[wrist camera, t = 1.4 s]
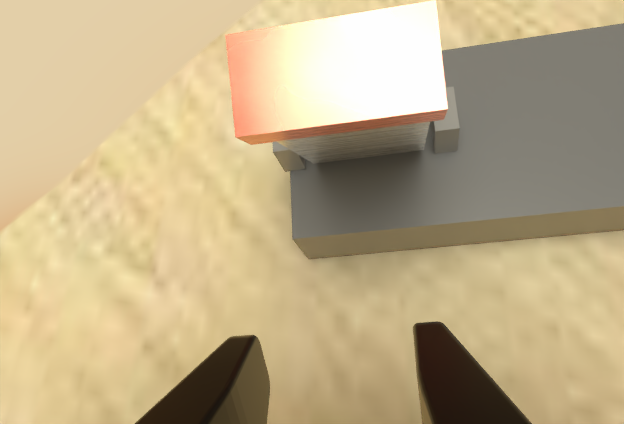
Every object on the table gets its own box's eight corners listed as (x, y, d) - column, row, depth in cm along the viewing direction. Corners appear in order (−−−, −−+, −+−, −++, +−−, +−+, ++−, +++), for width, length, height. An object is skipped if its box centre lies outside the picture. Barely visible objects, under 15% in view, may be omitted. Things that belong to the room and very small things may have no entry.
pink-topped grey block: (430, 157, 20) (447, 108, 11) (309, 172, 21) (235, 136, 12) (423, 96, 20) (436, 0, 11) (303, 113, 21) (225, 34, 12)
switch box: (868, 207, 20) (996, 149, 15) (304, 259, 23) (274, 224, 19) (801, 41, 22) (895, -51, 18) (298, 110, 26) (270, 48, 21)
